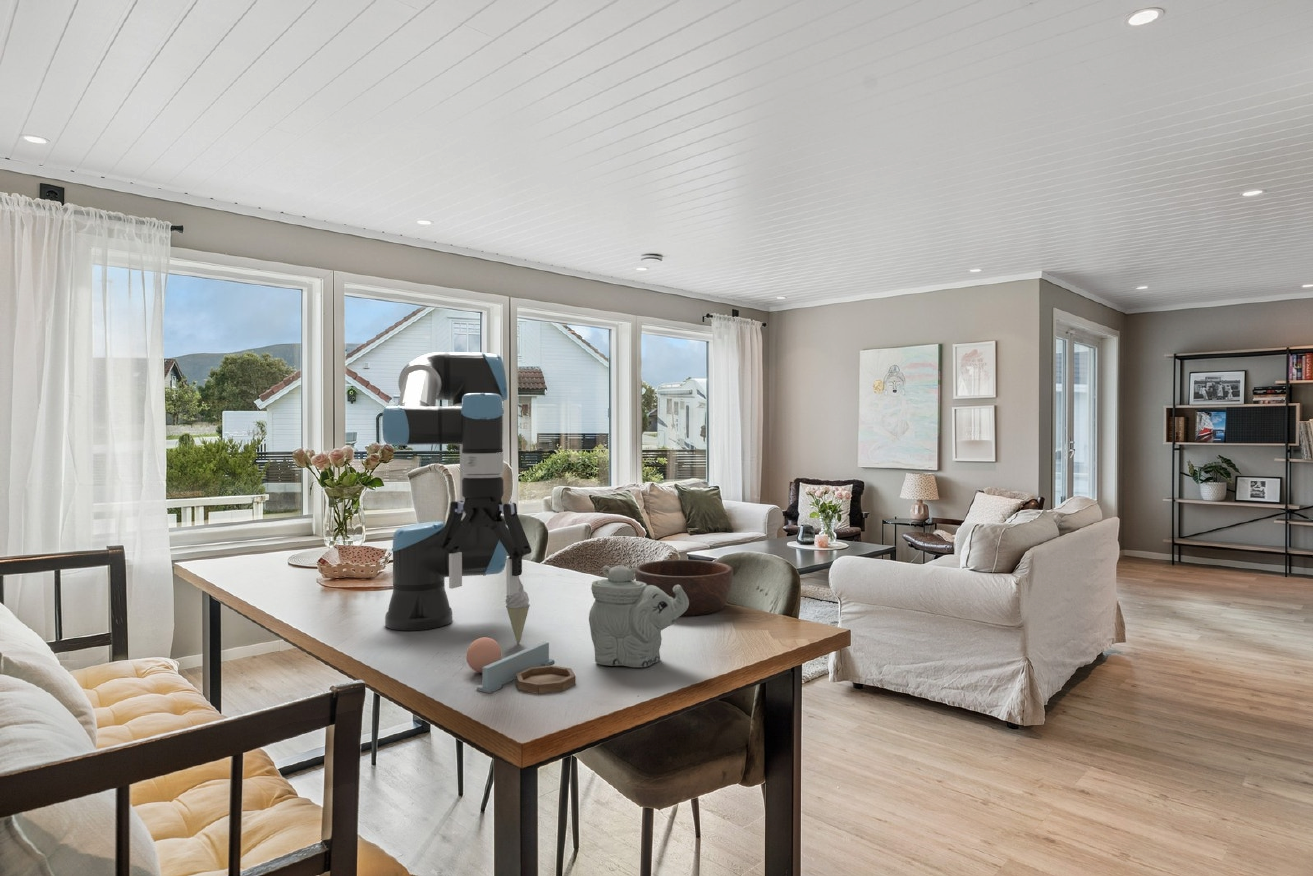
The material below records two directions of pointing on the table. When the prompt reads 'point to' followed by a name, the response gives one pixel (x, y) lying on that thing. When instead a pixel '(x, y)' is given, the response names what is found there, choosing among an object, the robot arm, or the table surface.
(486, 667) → the low wall
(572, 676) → the cork ring
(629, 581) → the teapot
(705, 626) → the table surface
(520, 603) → the ice cream cone
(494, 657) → the ball
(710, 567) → the wooden bowl
